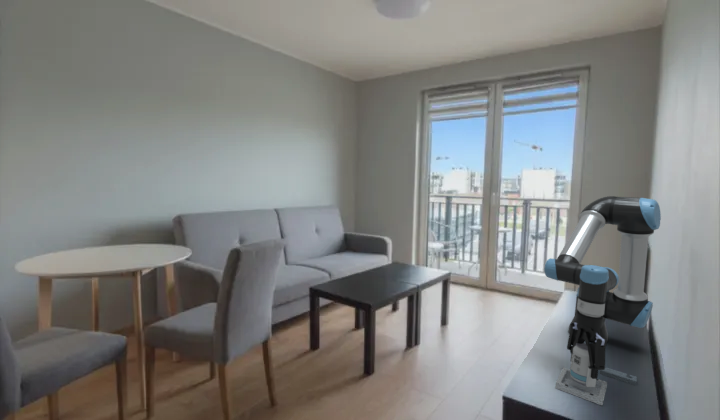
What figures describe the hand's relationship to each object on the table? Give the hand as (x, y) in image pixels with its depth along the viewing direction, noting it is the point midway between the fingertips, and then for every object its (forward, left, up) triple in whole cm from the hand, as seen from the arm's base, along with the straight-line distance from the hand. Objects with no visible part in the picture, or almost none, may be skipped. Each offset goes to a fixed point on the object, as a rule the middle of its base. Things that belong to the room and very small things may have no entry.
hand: (582, 379), depth 118 cm
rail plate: (0, 0, -3) cm, 3 cm away
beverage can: (0, 0, -1) cm, 1 cm away
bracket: (-18, +9, -4) cm, 20 cm away
